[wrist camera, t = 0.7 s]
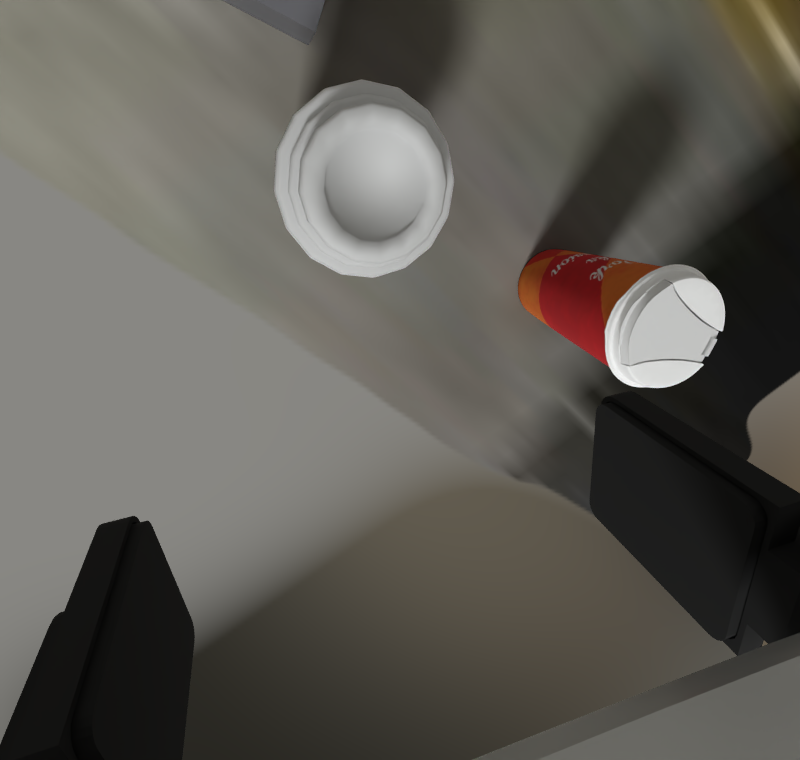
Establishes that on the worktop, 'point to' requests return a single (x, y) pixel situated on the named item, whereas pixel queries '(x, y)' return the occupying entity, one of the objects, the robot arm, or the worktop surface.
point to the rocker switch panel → (285, 15)
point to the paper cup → (626, 312)
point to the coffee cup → (363, 178)
